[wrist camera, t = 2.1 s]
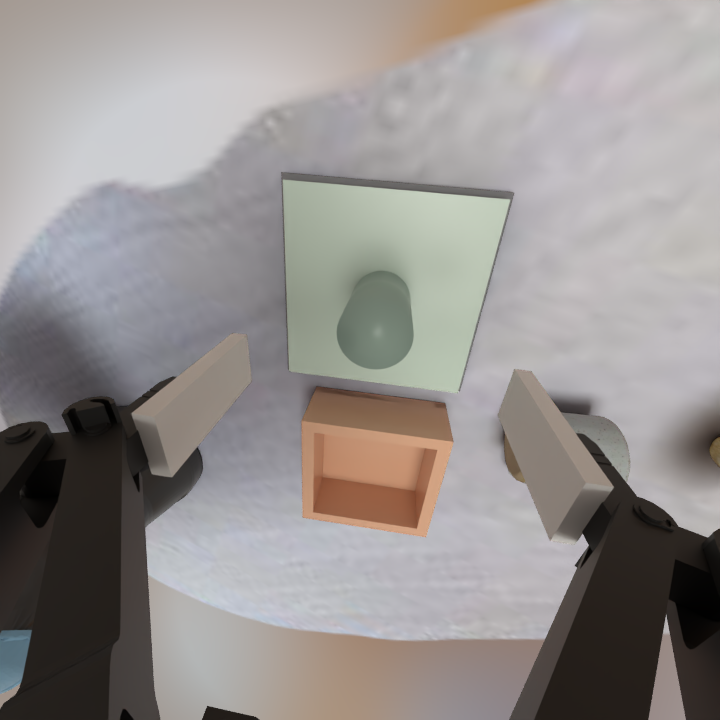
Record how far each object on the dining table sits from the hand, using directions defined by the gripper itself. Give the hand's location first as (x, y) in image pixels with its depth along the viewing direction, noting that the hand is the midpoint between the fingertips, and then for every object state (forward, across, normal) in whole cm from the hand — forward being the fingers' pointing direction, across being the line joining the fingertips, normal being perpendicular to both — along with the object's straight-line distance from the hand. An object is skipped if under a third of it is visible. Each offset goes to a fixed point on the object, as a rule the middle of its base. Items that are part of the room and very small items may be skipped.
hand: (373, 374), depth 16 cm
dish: (+15, 0, -18) cm, 23 cm away
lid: (+14, 0, 0) cm, 14 cm away
